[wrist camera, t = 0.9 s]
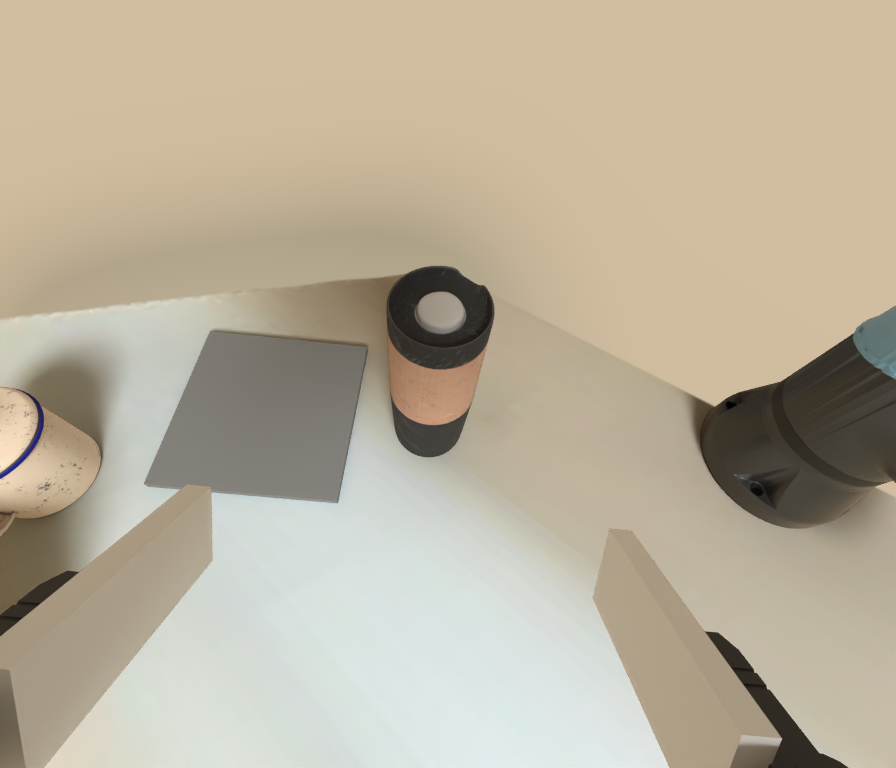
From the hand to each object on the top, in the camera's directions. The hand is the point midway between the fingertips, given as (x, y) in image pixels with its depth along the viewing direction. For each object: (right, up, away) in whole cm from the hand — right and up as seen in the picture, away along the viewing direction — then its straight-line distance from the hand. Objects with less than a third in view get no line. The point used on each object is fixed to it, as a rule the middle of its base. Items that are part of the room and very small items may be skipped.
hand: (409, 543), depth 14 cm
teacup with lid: (-36, -5, +26) cm, 45 cm away
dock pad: (-18, +2, +32) cm, 36 cm away
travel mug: (-1, +1, +33) cm, 33 cm away
